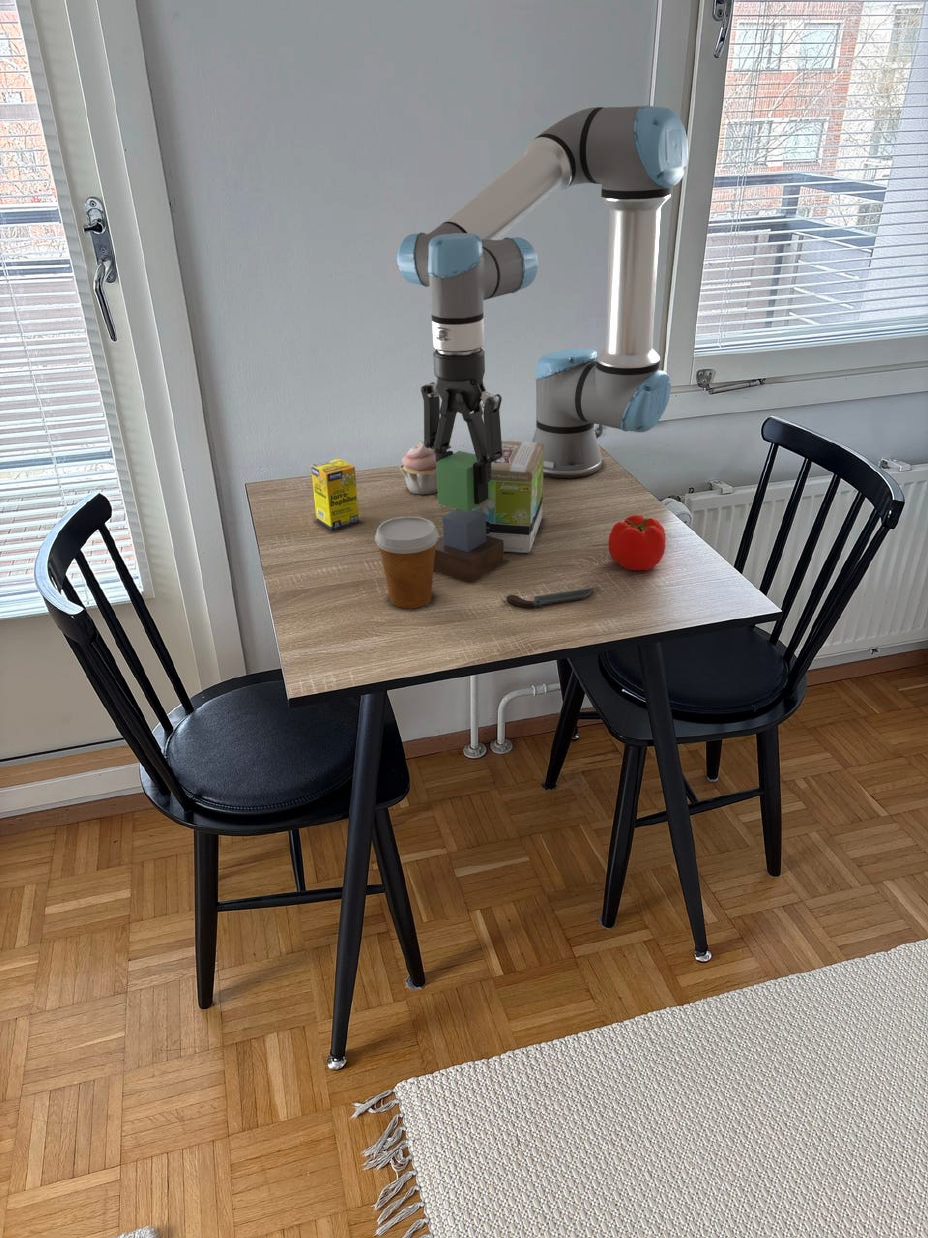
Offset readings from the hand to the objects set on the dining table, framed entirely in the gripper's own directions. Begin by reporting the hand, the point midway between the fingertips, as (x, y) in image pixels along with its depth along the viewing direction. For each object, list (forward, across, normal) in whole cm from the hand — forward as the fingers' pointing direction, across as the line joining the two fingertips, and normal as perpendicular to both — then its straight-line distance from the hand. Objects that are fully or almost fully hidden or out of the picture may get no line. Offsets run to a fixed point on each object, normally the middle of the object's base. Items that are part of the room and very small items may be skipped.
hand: (464, 496), depth 147 cm
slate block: (+8, 0, 0) cm, 8 cm away
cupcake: (+12, -27, +22) cm, 37 cm away
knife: (+12, +18, -2) cm, 22 cm away
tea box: (+12, -1, +14) cm, 19 cm away
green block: (+1, 0, 0) cm, 1 cm away
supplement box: (+12, -30, +1) cm, 32 cm away
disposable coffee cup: (+12, 0, -14) cm, 19 cm away
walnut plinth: (+12, 0, 0) cm, 12 cm away
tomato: (+12, +23, +16) cm, 31 cm away
